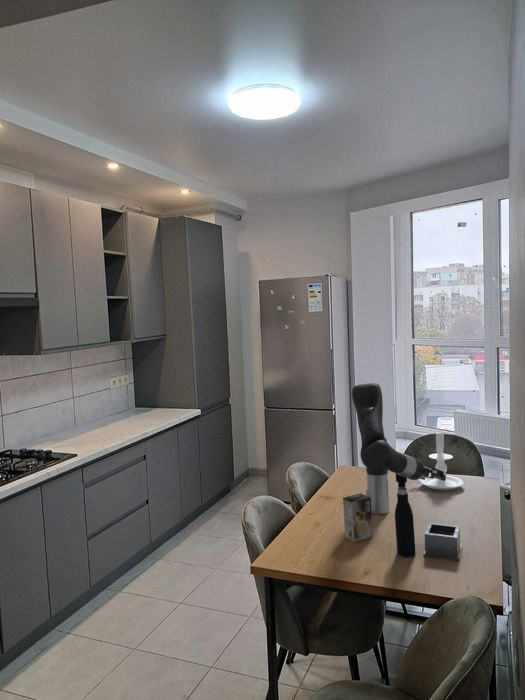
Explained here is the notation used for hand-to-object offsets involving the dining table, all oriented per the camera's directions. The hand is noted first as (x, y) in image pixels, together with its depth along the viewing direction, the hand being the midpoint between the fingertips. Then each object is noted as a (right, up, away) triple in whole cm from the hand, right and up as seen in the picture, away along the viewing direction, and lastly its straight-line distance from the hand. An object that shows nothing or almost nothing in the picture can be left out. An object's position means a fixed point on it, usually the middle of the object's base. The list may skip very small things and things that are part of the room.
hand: (434, 477), depth 195 cm
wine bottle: (-10, -28, -1) cm, 29 cm away
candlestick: (+24, -22, +70) cm, 77 cm away
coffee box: (-25, -27, +16) cm, 40 cm away
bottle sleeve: (+3, -27, -1) cm, 27 cm away
